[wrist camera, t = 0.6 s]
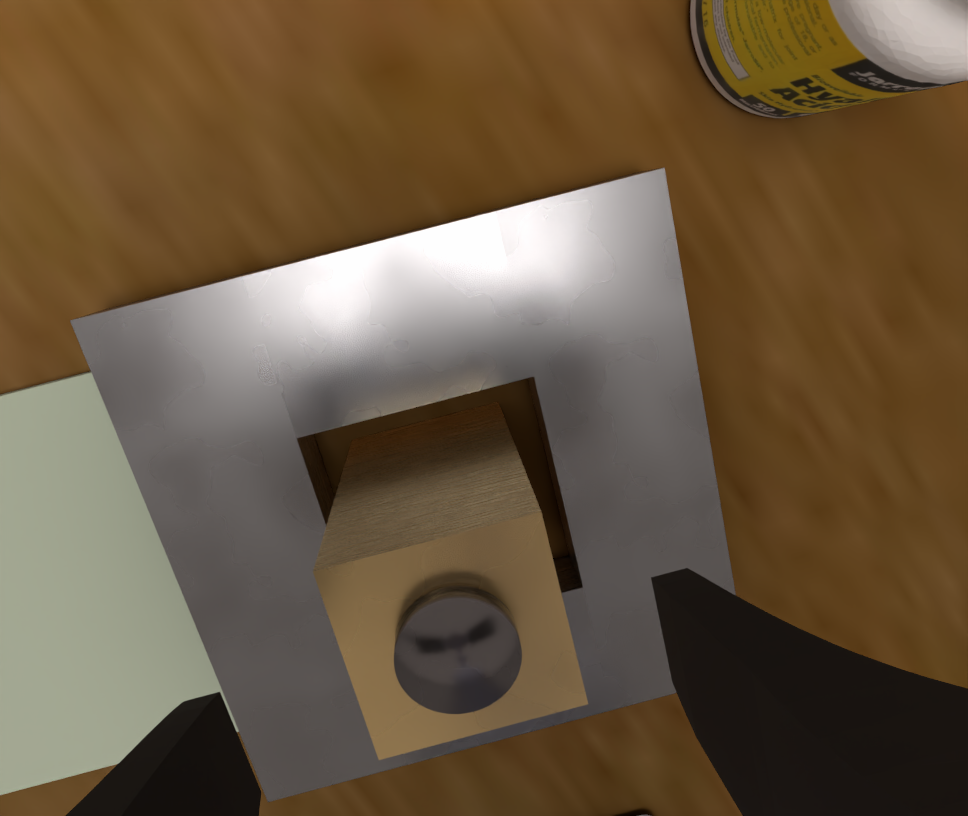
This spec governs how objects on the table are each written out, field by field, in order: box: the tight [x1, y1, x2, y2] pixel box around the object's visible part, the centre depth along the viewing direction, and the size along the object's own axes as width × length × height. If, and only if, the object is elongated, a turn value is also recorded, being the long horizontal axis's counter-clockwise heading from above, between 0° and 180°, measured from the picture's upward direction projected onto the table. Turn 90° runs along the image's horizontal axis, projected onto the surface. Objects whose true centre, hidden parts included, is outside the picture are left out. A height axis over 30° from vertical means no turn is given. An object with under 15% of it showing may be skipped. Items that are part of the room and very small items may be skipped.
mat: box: [0, 371, 239, 795], centre depth 21 cm, size 12×10×1 cm
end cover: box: [313, 402, 588, 760], centre depth 18 cm, size 4×4×9 cm
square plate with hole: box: [70, 168, 736, 802], centre depth 21 cm, size 15×15×2 cm
